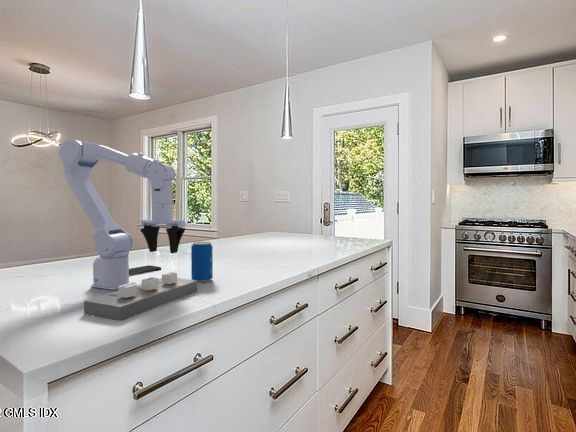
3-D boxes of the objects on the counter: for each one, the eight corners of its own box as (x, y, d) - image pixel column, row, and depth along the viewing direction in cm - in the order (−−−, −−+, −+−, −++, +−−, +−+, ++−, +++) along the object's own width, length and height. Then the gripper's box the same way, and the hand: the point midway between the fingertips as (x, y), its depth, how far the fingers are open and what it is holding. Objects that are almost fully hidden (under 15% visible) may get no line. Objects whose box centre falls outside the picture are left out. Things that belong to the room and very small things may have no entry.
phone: (162, 267, 126) (123, 274, 114) (162, 270, 126) (123, 278, 114) (149, 265, 131) (110, 271, 118) (149, 268, 131) (110, 275, 118)
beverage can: (207, 283, 106) (207, 244, 105) (187, 282, 107) (187, 243, 106) (215, 278, 112) (215, 241, 111) (197, 277, 113) (197, 241, 113)
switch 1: (118, 296, 79) (118, 285, 79) (128, 293, 82) (128, 283, 82) (126, 298, 78) (126, 287, 78) (136, 294, 81) (136, 284, 81)
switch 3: (162, 283, 92) (161, 273, 92) (169, 280, 95) (169, 271, 95) (169, 284, 91) (169, 274, 91) (177, 281, 94) (177, 272, 94)
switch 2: (141, 289, 86) (141, 279, 85) (150, 286, 88) (150, 276, 88) (149, 290, 85) (149, 280, 84) (158, 287, 87) (158, 277, 87)
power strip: (84, 314, 77) (83, 300, 77) (177, 283, 106) (177, 273, 106) (120, 321, 73) (120, 306, 73) (208, 286, 102) (208, 276, 101)
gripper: (131, 205, 98) (133, 252, 99) (172, 205, 93) (174, 255, 93) (150, 204, 105) (151, 249, 105) (189, 204, 99) (190, 251, 100)
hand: (163, 252), depth 100 cm, fingers open, 7 cm apart
